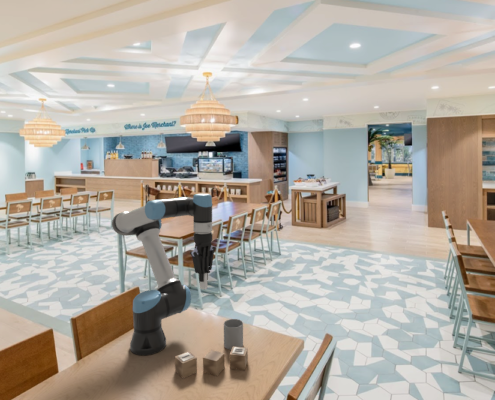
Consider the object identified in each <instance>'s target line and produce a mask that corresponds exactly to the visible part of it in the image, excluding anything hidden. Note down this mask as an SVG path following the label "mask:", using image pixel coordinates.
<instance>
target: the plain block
mask: <svg viewBox="0 0 495 400" xmlns="http://www.w3.org/2000/svg"><path fill="white" fill-rule="evenodd" d="M225 360H226V359H225V353H224V352H221V351H217V350H213V349H211V350H209V351H208V352H207V353H206V354H205V355H204V356H203V357H202V373H205V374H207V375H211V376H214V377H218V376H219V375H220V373H221V372H222V371H223V370H224V369H225V363H226V361H225Z"/></svg>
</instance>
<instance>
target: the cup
mask: <svg viewBox="0 0 495 400" xmlns="http://www.w3.org/2000/svg"><path fill="white" fill-rule="evenodd" d="M233 346H235V347H244V322H243V320H240V319H238V318H231V319H227V320H225V321H224V322H223V347H224V348H225V349H227V350H230V351H231V350H232V347H233Z"/></svg>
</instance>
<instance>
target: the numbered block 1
mask: <svg viewBox="0 0 495 400" xmlns="http://www.w3.org/2000/svg"><path fill="white" fill-rule="evenodd" d="M197 359H198V357H197V356H195V355H194V354H193V353H191V352H190V350H188V351H186V352H183V353H181V354H178V355H175V356H174V369H175V372H176V373H177V375H178V376H179V377H181V378H182V379H185V378H187V377H190V376H192V375H194V374H196V373H198V361H197Z"/></svg>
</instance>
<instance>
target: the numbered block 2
mask: <svg viewBox="0 0 495 400" xmlns="http://www.w3.org/2000/svg"><path fill="white" fill-rule="evenodd" d="M248 353H249V352H248V347H245V346H242V347H235V346H233V347H232V350H230V353H229V370H238V371H246V368H247V366H248V361H249V360H248V355H249V354H248Z"/></svg>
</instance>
